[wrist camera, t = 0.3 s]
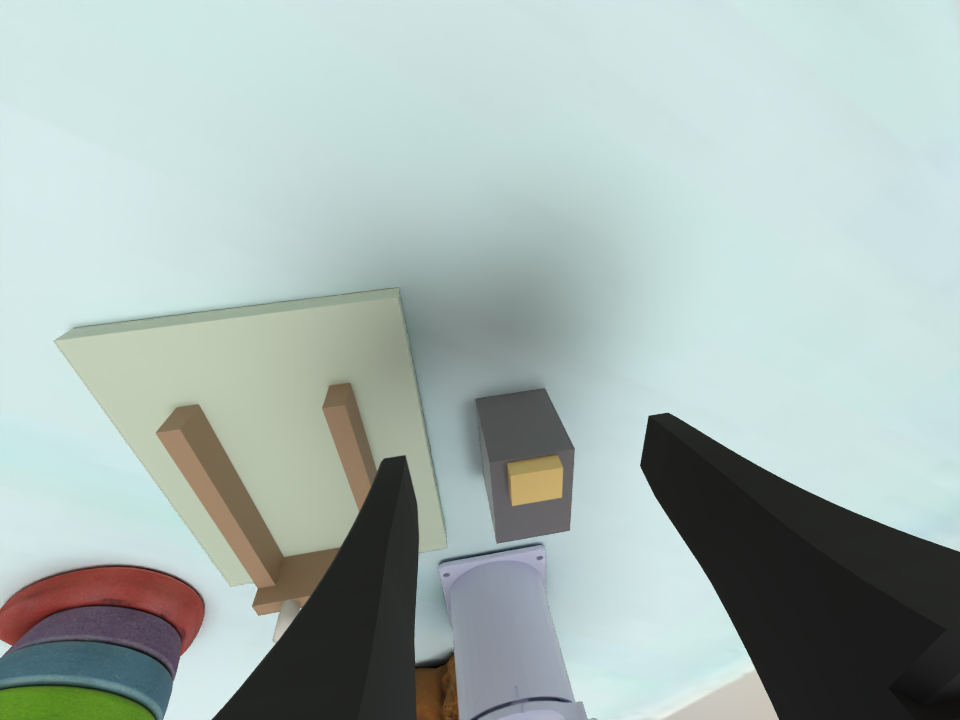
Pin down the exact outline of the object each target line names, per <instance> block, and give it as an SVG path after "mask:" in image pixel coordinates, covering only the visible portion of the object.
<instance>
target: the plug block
mask: <svg viewBox="0 0 960 720" xmlns="http://www.w3.org/2000/svg"><path fill="white" fill-rule="evenodd" d="M475 401H476V410H477V419H478V429H479V438H480V448H481V457H482V467H483V475H484V481H485V486H486V491H487V496H488V501H489V506H490V511H491V516H492V521H493V526H494V531H495V537H496V542H497V543H503V542H509V541H514V540H520V539H525V538H531V537H537V536H542V535H548V534H553V533H559V532H565V531H570V517H571V501H572V484H573V468H574V451H575V449H574V447H573V445H572V442H571V440H570V438H569V436H568V434H567V432H566V430H565V428H564V426H563V424H562V422H561V420H560V418H559V416H558V414H557V412H556V410H555V408H554V406H553V404H552V402H551V400H550V398H549V396H548V394H547V392H546V390H545V389H538V390H531V391H525V392H518V393H511V394H505V395H498V396H491V397H485V398H478V399H475Z"/></svg>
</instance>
